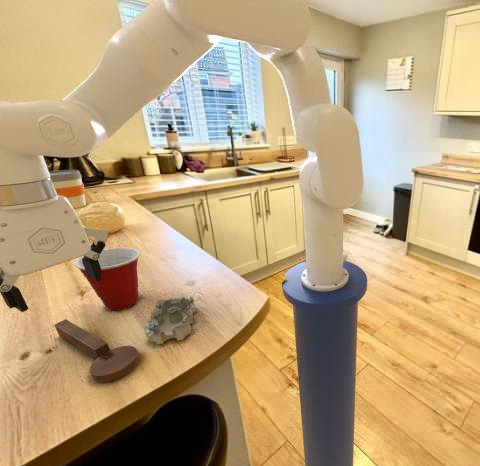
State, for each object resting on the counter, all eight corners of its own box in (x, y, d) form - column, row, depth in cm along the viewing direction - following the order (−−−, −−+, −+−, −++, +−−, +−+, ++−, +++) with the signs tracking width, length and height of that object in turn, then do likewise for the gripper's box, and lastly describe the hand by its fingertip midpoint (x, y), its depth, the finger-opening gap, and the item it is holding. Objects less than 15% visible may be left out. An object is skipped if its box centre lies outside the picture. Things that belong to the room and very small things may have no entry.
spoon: (44, 346, 53) (37, 332, 52) (85, 324, 58) (80, 312, 57) (106, 389, 45) (99, 374, 44) (148, 359, 50) (143, 346, 49)
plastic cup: (159, 301, 66) (146, 254, 61) (99, 325, 58) (78, 274, 53) (144, 283, 72) (131, 240, 67) (89, 303, 65) (69, 255, 60)
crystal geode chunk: (190, 340, 55) (185, 323, 53) (144, 348, 53) (138, 330, 51) (199, 306, 64) (195, 290, 63) (161, 312, 62) (156, 296, 60)
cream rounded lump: (81, 239, 96) (69, 208, 92) (96, 226, 106) (86, 198, 102) (121, 235, 100) (112, 205, 95) (132, 223, 110) (124, 196, 106)
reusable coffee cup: (48, 211, 121) (33, 176, 115) (60, 203, 131) (47, 170, 126) (85, 208, 126) (73, 174, 120) (95, 200, 136) (84, 168, 130)
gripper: (-72, 213, 33) (-5, 331, 39) (102, 184, 47) (130, 274, 54) (-92, 203, 36) (-27, 315, 42) (78, 179, 50) (107, 265, 57)
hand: (61, 292), depth 48 cm, fingers open, 9 cm apart
